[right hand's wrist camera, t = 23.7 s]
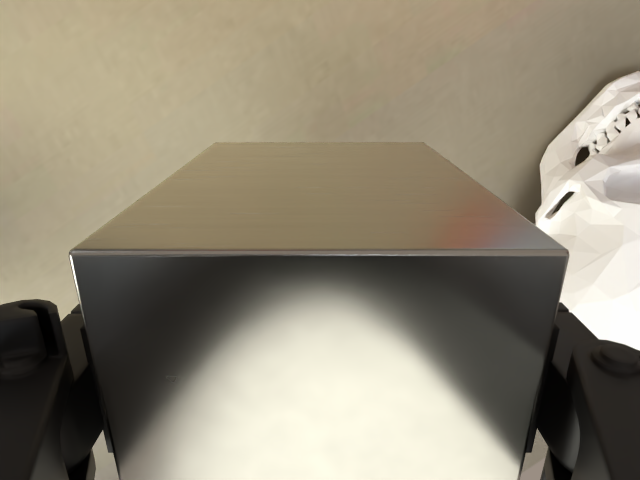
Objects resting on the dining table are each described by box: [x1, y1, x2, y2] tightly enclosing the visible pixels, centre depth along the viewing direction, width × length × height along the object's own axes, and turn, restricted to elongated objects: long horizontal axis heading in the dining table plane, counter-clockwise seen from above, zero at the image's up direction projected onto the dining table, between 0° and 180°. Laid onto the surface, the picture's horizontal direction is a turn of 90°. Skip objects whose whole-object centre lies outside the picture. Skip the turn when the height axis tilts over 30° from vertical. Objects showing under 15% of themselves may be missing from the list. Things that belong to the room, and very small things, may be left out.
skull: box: [531, 71, 640, 351], centre depth 30 cm, size 13×22×16 cm, turn 177°
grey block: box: [69, 142, 570, 480], centre depth 11 cm, size 6×7×8 cm
